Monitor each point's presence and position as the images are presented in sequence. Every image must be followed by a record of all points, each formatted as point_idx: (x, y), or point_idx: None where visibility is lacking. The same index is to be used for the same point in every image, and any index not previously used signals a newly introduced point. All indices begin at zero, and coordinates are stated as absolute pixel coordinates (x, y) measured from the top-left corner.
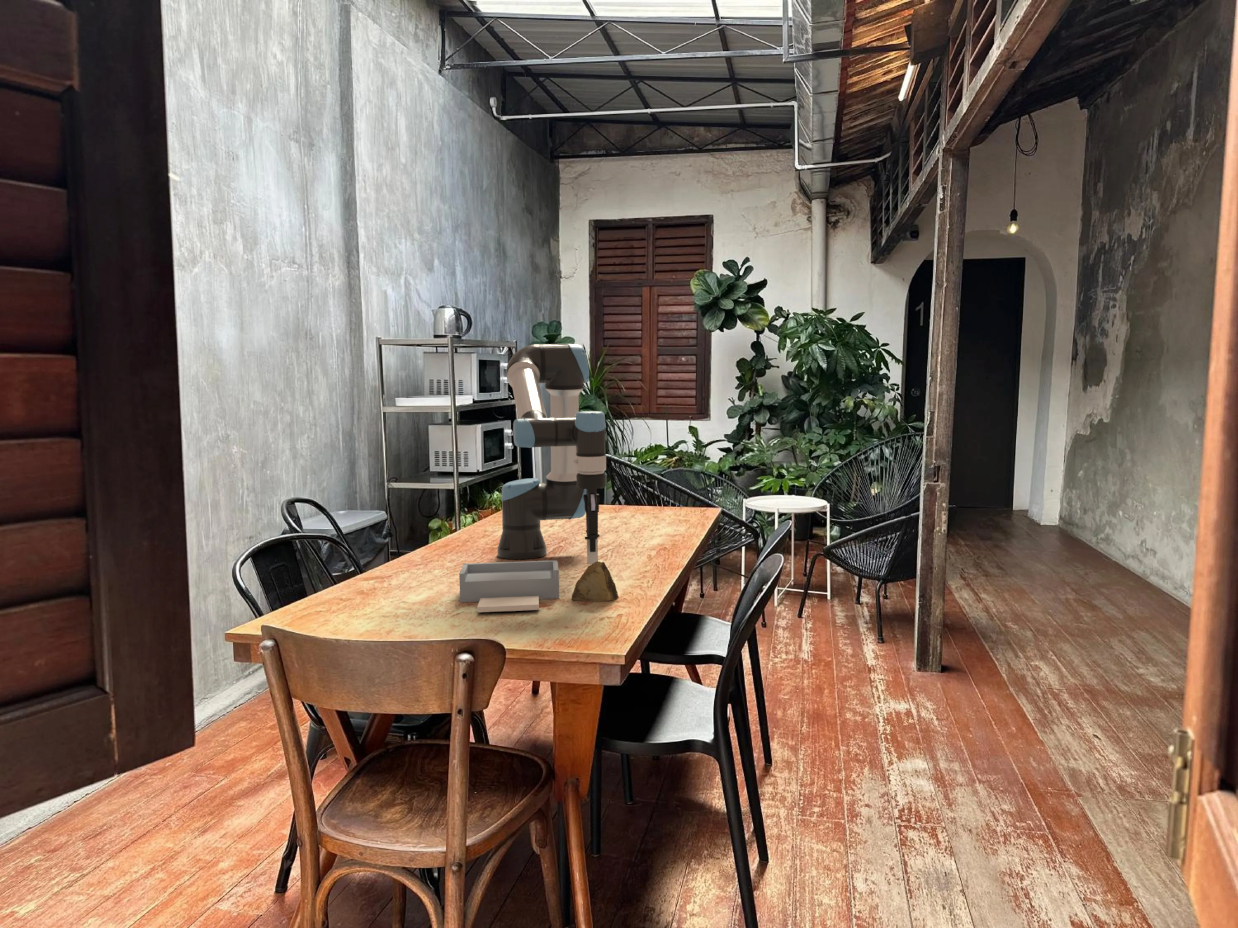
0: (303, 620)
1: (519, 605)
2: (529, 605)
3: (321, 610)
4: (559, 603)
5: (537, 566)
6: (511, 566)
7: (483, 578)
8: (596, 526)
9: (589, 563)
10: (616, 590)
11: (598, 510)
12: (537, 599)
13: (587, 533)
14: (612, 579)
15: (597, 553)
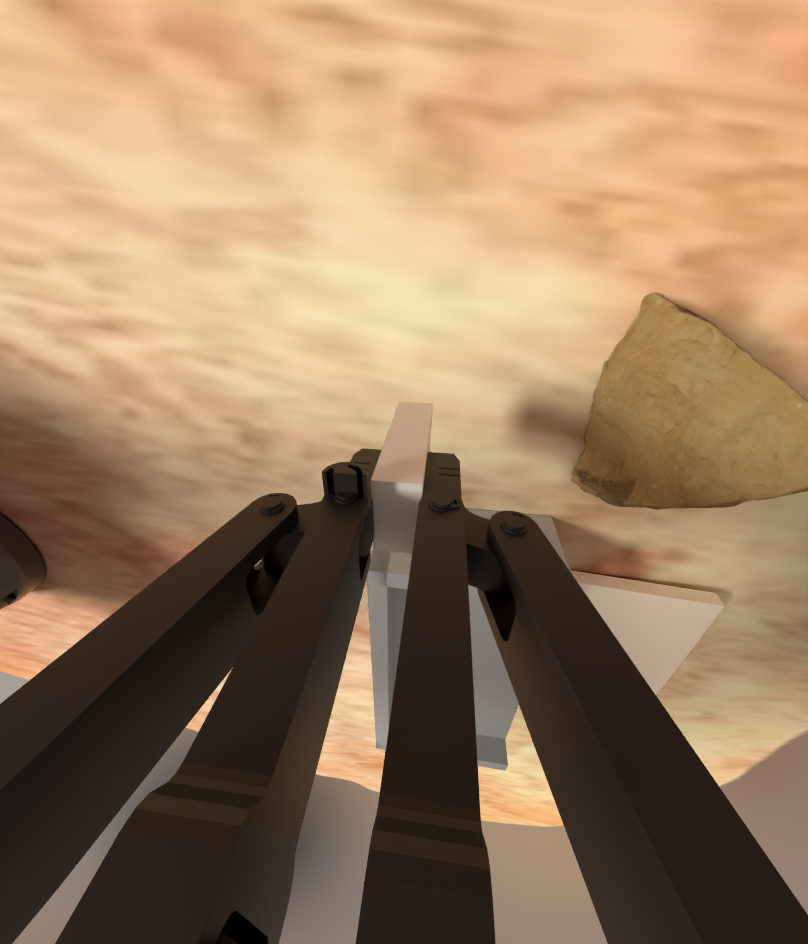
0: (533, 814)
1: (697, 642)
2: (709, 623)
3: (481, 800)
4: (623, 524)
5: (390, 611)
6: (390, 668)
7: (481, 711)
8: (601, 637)
9: (429, 449)
10: (679, 309)
11: (491, 923)
12: (626, 593)
13: (367, 573)
14: (739, 347)
15: (428, 431)
